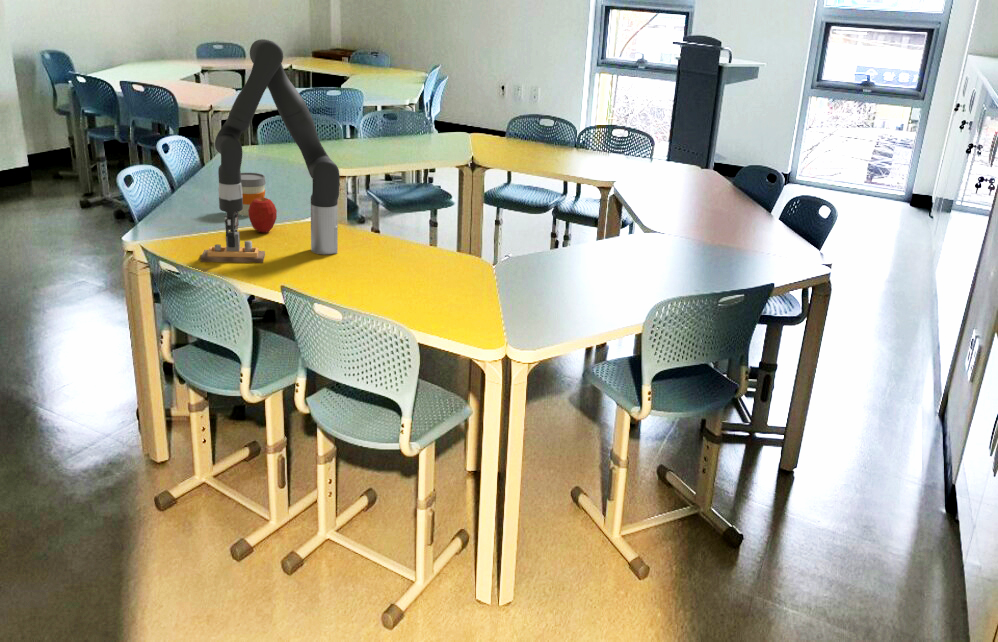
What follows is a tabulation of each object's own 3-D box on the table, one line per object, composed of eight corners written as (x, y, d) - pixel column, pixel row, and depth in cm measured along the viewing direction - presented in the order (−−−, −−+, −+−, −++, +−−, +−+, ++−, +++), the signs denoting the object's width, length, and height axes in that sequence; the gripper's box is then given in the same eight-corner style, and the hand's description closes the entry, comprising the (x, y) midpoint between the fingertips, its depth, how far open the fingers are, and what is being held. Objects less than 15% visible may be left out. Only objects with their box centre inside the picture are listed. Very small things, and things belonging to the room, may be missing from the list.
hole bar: (258, 251, 292) (257, 230, 289) (257, 257, 287) (256, 236, 284) (210, 250, 289) (208, 229, 286) (207, 256, 284) (206, 234, 281)
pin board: (265, 255, 294) (264, 238, 292) (262, 262, 287) (262, 245, 284) (204, 253, 290) (203, 237, 288) (201, 261, 283) (199, 244, 281)
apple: (246, 228, 320) (244, 192, 314) (273, 226, 324) (272, 191, 319) (252, 236, 311) (251, 199, 306) (280, 234, 316) (279, 198, 311)
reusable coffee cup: (258, 207, 346) (256, 171, 341) (272, 215, 338) (271, 178, 332) (228, 211, 339) (226, 174, 333) (242, 219, 330) (240, 181, 324)
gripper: (221, 189, 286) (224, 237, 292) (215, 201, 273) (218, 250, 279) (244, 190, 287) (246, 237, 294) (239, 201, 274) (242, 250, 281)
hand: (232, 243), depth 287 cm, fingers open, 6 cm apart
